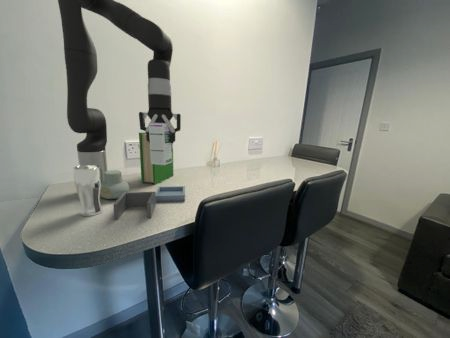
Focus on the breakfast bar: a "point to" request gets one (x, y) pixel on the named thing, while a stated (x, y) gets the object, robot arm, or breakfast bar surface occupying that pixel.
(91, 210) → the beer glass
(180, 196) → the tray
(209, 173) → the breakfast bar surface
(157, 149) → the syrup box
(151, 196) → the dock
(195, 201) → the breakfast bar surface
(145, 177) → the hardback book
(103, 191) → the air freshener
